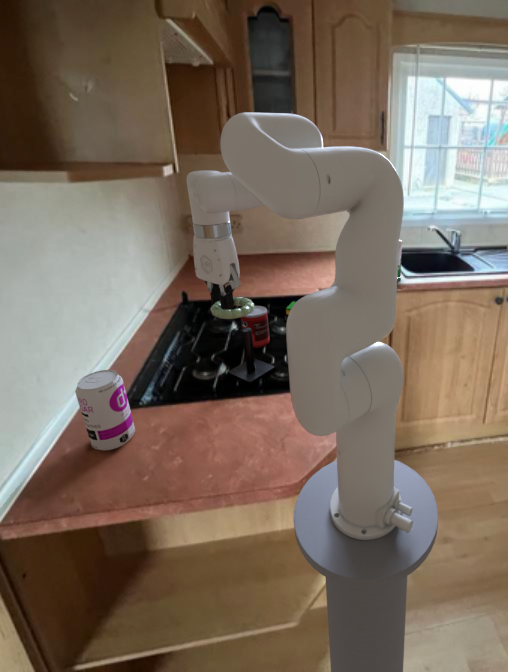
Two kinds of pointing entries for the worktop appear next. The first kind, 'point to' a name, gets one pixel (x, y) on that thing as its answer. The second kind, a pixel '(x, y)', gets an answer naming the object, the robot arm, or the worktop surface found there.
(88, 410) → the supplement can
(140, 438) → the worktop surface
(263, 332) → the canned food
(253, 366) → the stand
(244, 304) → the ring
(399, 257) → the milk carton
